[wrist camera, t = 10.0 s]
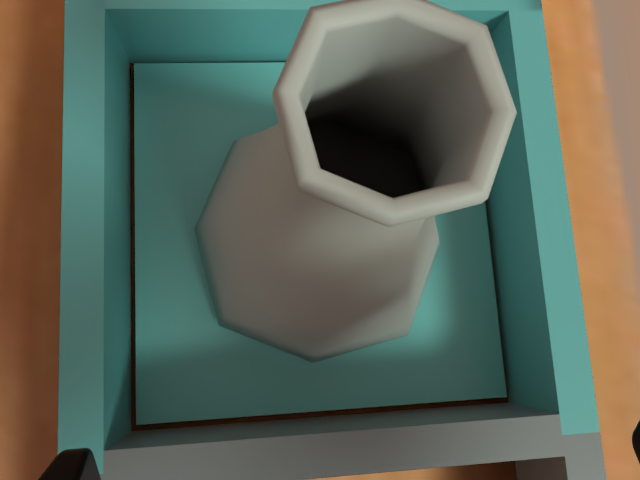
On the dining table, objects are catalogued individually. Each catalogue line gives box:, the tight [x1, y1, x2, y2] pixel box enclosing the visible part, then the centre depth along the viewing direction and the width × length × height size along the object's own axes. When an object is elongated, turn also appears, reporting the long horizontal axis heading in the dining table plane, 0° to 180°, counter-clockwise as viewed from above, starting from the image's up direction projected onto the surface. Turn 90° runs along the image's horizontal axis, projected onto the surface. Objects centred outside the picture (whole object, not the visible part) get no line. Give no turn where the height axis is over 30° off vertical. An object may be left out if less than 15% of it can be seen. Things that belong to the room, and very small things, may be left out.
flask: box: [195, 0, 517, 363], centre depth 12 cm, size 7×7×10 cm
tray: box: [58, 0, 607, 480], centre depth 15 cm, size 25×13×3 cm, turn 4°
